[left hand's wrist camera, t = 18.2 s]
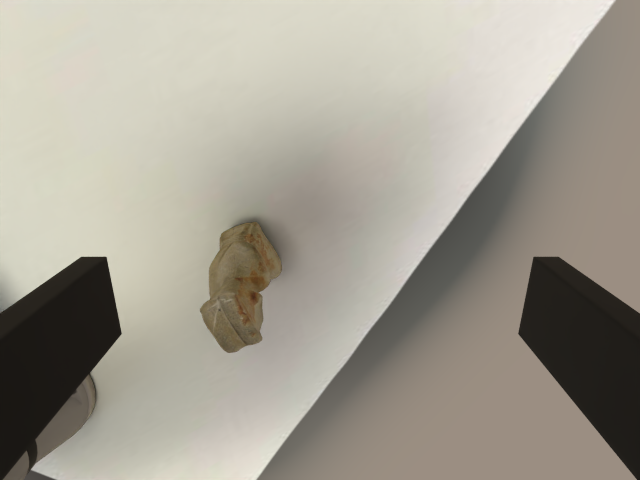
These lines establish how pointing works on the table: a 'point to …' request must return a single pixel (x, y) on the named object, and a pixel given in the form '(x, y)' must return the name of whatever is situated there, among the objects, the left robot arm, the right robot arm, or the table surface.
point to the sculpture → (239, 286)
